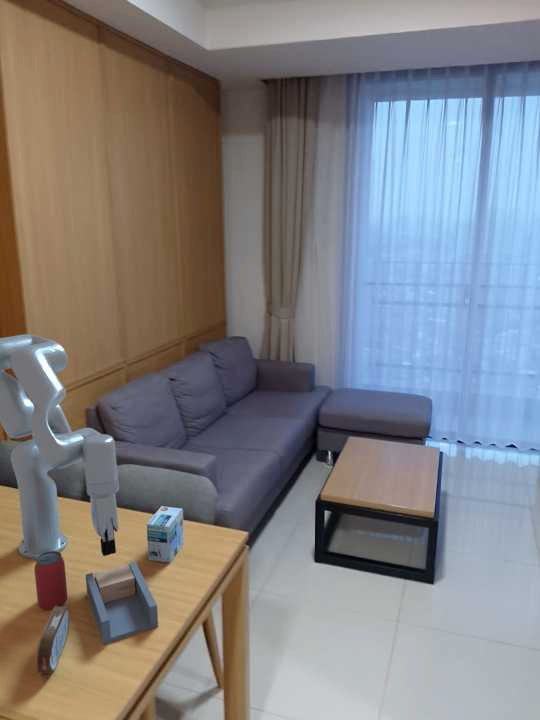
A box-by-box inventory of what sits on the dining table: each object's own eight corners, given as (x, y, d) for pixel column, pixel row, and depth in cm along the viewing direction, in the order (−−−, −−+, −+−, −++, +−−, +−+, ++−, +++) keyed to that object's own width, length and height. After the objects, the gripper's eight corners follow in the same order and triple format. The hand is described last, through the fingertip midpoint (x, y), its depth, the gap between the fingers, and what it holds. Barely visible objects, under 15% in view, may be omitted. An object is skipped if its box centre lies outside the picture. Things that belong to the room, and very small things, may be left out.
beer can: (37, 597, 135) (33, 553, 132) (66, 590, 137) (62, 547, 135) (38, 614, 129) (33, 568, 126) (68, 607, 131) (64, 561, 129)
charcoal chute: (87, 594, 136) (85, 574, 135) (136, 580, 141) (135, 561, 140) (103, 644, 120) (101, 622, 118) (158, 626, 125) (157, 605, 124)
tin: (58, 630, 124) (55, 597, 122) (73, 629, 124) (70, 596, 122) (36, 684, 109) (32, 647, 107) (53, 682, 110) (49, 646, 108)
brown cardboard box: (95, 590, 136) (94, 573, 135) (129, 580, 139) (128, 564, 138) (100, 604, 131) (99, 587, 130) (135, 594, 134) (134, 577, 133)
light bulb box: (171, 563, 149) (169, 527, 146) (147, 560, 150) (145, 524, 148) (184, 542, 159) (183, 507, 157) (162, 539, 160) (161, 505, 158)
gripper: (81, 477, 141) (88, 543, 145) (92, 500, 129) (99, 572, 132) (111, 471, 145) (117, 536, 149) (125, 493, 132) (131, 563, 136)
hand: (108, 552), depth 140 cm, fingers closed
